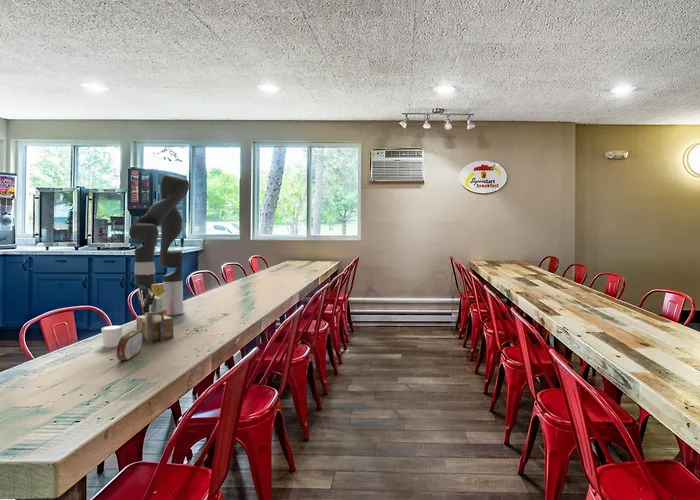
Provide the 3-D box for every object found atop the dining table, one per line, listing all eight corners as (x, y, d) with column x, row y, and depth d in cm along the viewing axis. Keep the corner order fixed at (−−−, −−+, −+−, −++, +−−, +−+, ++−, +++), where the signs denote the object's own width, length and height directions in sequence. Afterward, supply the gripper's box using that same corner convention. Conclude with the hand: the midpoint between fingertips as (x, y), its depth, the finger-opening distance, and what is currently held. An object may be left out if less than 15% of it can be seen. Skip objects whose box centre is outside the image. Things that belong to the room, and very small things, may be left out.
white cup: (126, 343, 156) (126, 326, 155) (110, 348, 149) (110, 330, 149) (113, 341, 158) (113, 324, 157) (97, 346, 151) (96, 328, 151)
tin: (135, 350, 148) (135, 327, 148) (144, 349, 149) (144, 327, 148) (115, 364, 133) (115, 339, 133) (125, 364, 134) (124, 339, 133)
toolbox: (133, 336, 166) (132, 307, 165) (158, 331, 173) (158, 304, 173) (149, 344, 155) (148, 313, 154) (175, 338, 163) (175, 309, 162)
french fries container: (158, 325, 184) (157, 286, 183) (143, 321, 190) (143, 284, 188) (167, 322, 188) (166, 285, 187) (152, 319, 194) (152, 283, 192)
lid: (136, 319, 166) (136, 297, 166) (158, 315, 173) (158, 294, 172) (148, 324, 158) (147, 301, 158) (171, 320, 165) (170, 298, 164)
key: (144, 318, 161) (144, 312, 161) (150, 317, 163) (150, 311, 163) (155, 322, 155) (154, 316, 154) (161, 321, 156) (161, 315, 156)
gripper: (128, 272, 163) (129, 313, 165) (141, 275, 155) (142, 319, 156) (148, 270, 169) (148, 311, 170) (161, 273, 160) (162, 315, 161)
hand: (145, 314), depth 163 cm, fingers closed
